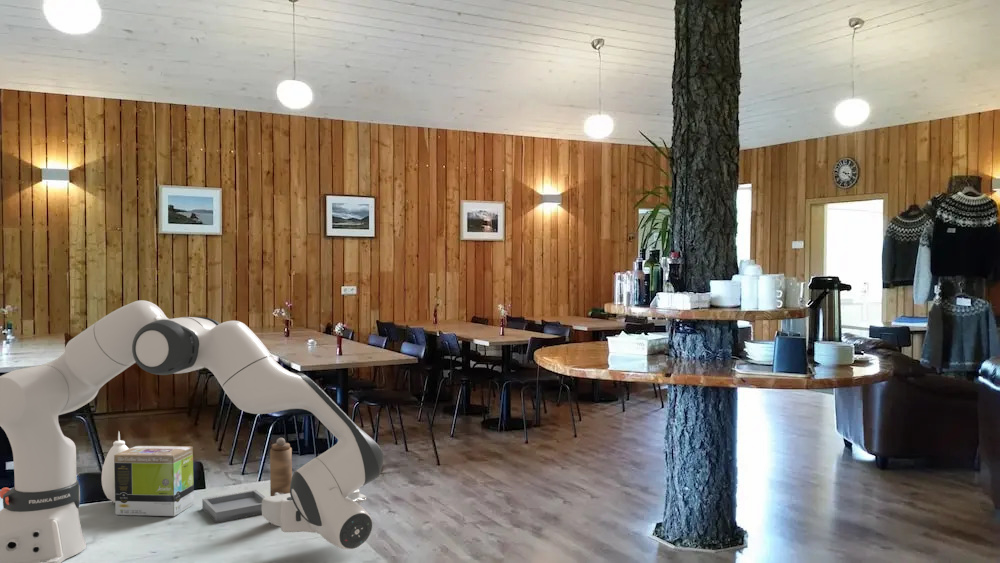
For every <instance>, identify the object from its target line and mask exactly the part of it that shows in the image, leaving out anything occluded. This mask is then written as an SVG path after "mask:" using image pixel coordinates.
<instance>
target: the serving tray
mask: <svg viewBox="0 0 1000 563" xmlns="http://www.w3.org/2000/svg"><path fill="white" fill-rule="evenodd" d="M265 497H266V496H264V495H263V494H262V493H261V492H260V491H258V490H257V489H254V490H253V489H252V490H248V491H242V492H237V493H236V492H234V493H230V494H229V493H228V494H224V495H217V496H212V497H207V498H202V510H203V511H204V512H205V513H206V514H207V515H208V516H209V517H210V518H211V519H212V520H213V521H214V522H215V523H216V524H217V523H222V522H228V521H233V520H237V519H238V518H239V519H243V518H247V517H253V516H258V515H262V500H263V499H264V498H265ZM239 519H238V520H239Z"/></svg>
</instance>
